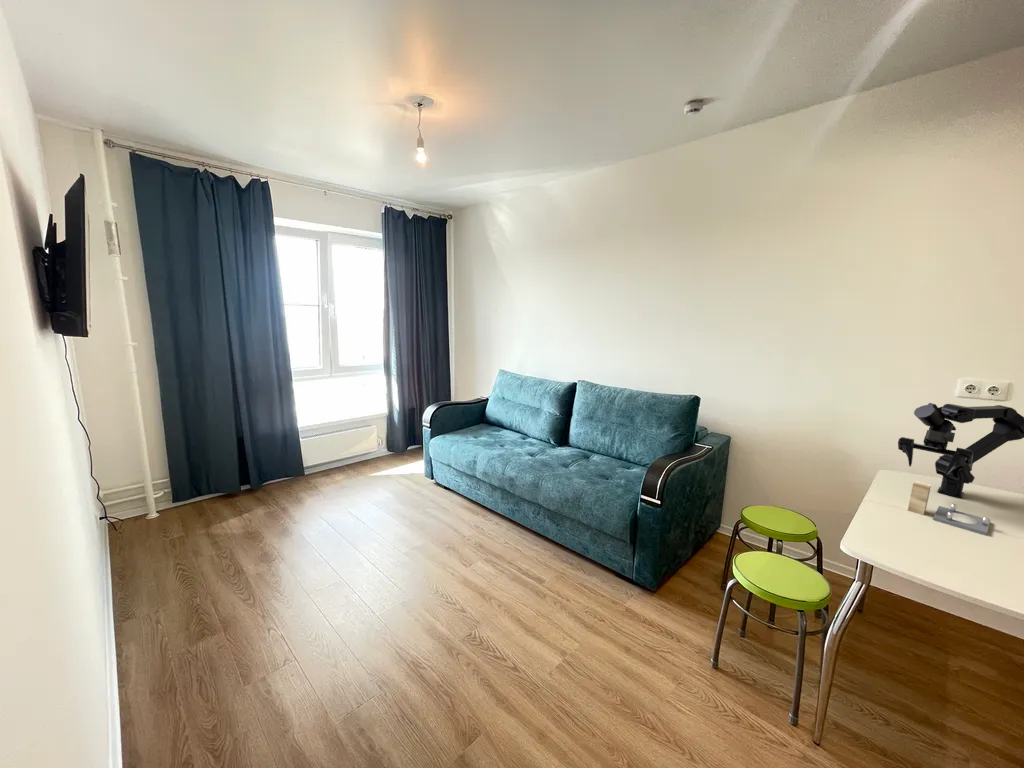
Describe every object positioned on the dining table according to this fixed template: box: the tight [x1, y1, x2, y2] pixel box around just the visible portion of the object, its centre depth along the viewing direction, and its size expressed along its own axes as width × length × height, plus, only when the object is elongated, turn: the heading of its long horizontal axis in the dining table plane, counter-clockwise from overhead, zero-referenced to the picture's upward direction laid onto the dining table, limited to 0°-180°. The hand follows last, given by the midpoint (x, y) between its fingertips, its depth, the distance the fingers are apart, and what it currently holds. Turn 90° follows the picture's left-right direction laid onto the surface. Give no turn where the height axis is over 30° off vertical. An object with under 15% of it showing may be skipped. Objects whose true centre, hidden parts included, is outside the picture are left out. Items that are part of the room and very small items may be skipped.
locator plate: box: [932, 503, 991, 536], centre depth 136 cm, size 12×12×4 cm
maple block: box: [907, 480, 932, 516], centre depth 143 cm, size 4×4×10 cm
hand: (927, 469), depth 145 cm, fingers open, 9 cm apart
